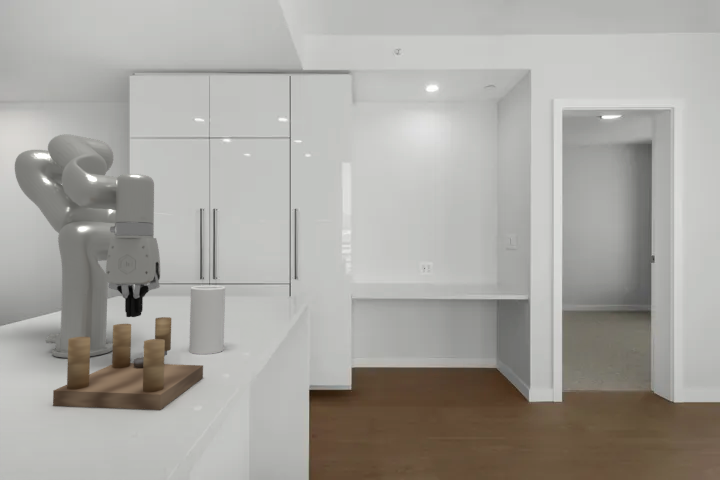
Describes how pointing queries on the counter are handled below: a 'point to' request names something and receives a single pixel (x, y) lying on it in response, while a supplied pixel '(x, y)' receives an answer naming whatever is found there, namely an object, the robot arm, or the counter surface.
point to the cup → (207, 319)
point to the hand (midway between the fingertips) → (133, 316)
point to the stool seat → (124, 376)
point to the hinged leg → (159, 336)
